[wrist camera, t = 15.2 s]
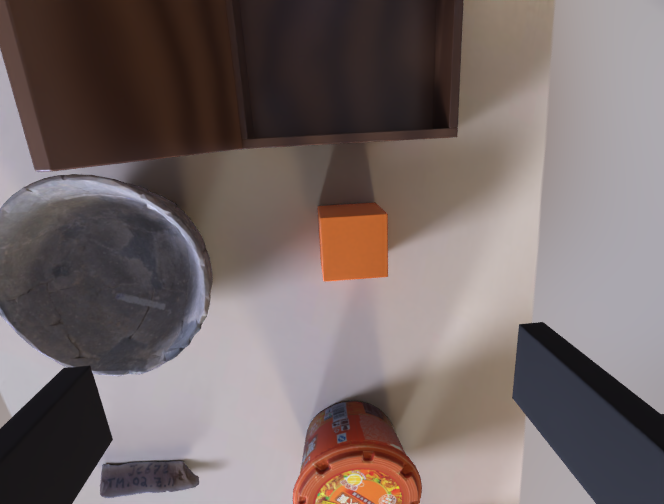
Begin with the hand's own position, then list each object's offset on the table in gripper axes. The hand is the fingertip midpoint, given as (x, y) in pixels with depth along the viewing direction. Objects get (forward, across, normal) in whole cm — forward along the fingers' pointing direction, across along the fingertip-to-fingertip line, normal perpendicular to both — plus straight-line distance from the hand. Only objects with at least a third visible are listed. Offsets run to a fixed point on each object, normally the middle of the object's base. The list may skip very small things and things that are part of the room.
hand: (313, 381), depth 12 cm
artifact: (+34, -26, -38) cm, 57 cm away
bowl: (+35, -20, -5) cm, 40 cm away
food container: (+34, +3, -35) cm, 49 cm away
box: (+34, +5, +17) cm, 39 cm away
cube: (+34, +5, -4) cm, 35 cm away
